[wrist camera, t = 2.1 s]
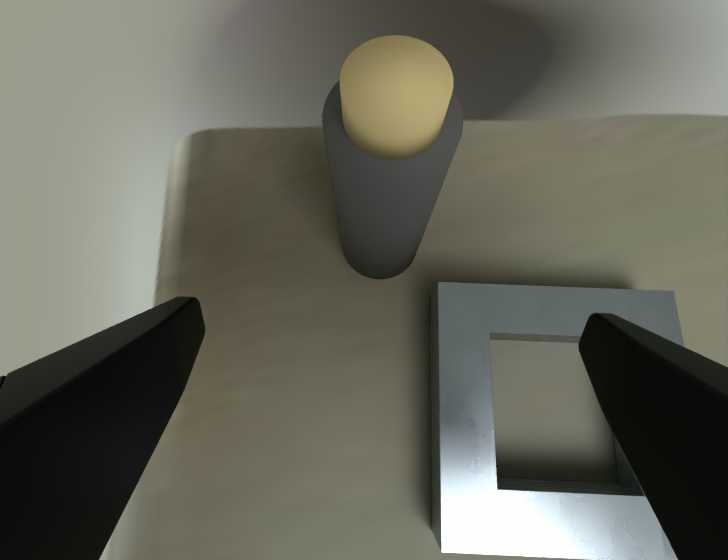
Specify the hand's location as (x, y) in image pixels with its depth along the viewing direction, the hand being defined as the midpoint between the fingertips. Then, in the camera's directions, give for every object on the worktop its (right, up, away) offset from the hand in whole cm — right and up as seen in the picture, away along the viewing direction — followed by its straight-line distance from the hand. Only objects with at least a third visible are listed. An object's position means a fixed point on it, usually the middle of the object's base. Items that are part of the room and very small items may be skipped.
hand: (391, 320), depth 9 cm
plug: (0, +3, +14) cm, 14 cm away
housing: (+9, -6, +11) cm, 16 cm away
